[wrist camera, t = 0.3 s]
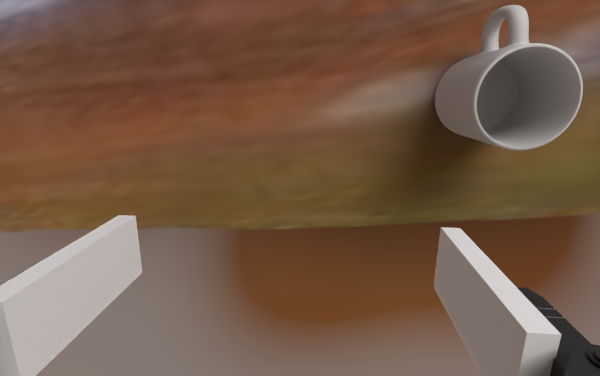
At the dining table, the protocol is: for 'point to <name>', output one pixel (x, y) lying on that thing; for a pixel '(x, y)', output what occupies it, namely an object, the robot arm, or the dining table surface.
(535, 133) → the mug
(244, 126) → the dining table surface
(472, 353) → the robot arm
